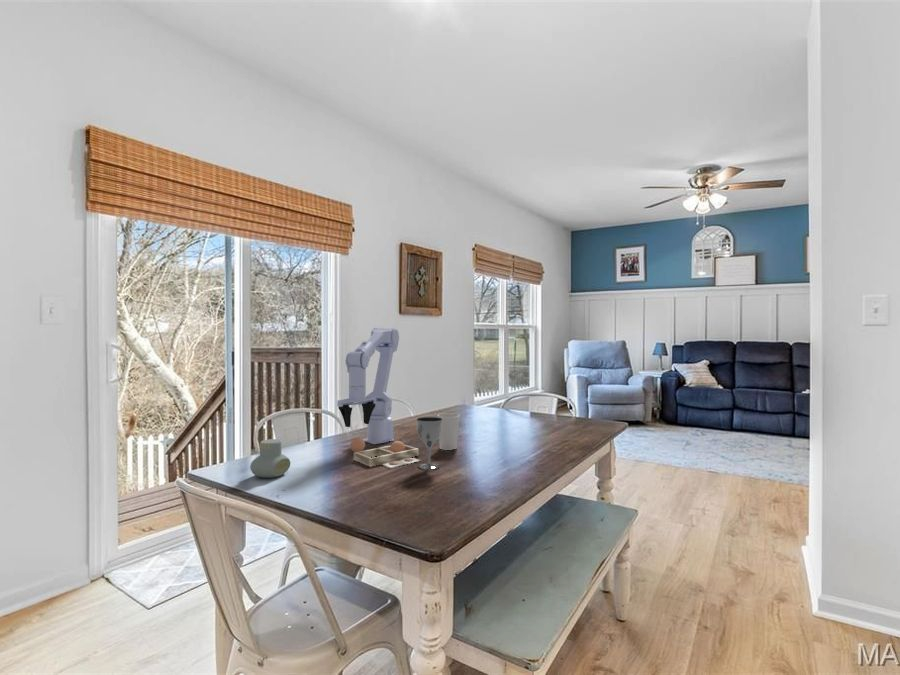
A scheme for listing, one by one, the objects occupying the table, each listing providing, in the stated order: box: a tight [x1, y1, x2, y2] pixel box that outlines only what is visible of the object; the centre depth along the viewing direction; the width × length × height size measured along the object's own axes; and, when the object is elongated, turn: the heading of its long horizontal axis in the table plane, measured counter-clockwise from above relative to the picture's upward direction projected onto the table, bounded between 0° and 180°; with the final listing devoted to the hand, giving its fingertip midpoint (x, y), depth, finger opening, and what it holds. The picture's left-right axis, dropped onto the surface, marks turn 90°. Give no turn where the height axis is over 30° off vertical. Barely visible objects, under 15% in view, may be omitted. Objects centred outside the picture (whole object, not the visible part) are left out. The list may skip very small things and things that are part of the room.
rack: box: [353, 444, 422, 469], centre depth 155 cm, size 19×16×2 cm
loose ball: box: [350, 437, 366, 453], centre depth 165 cm, size 5×5×5 cm
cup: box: [436, 412, 461, 450], centre depth 171 cm, size 8×8×12 cm
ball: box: [390, 440, 406, 453], centre depth 160 cm, size 5×5×5 cm
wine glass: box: [416, 416, 442, 470], centre depth 148 cm, size 8×8×15 cm
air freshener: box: [249, 438, 291, 479], centre depth 138 cm, size 11×8×10 cm
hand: (357, 425), depth 165 cm, fingers open, 7 cm apart
